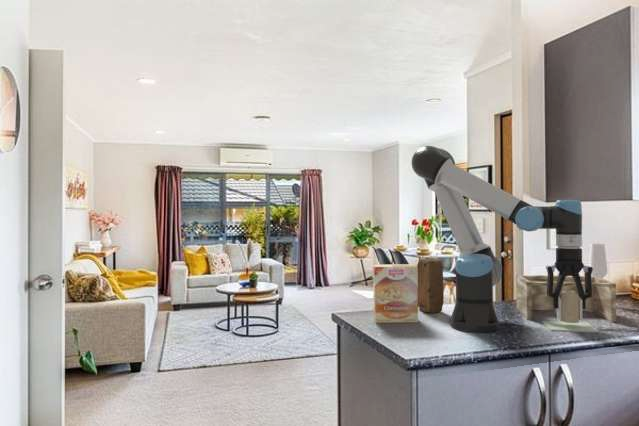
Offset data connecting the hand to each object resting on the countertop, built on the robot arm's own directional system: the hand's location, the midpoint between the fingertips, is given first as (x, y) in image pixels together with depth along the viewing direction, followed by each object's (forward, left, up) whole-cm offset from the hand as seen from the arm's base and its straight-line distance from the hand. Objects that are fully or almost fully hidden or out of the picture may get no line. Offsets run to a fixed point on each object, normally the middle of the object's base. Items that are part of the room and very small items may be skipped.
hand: (569, 318), depth 154 cm
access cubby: (+3, +18, -3) cm, 18 cm away
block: (-44, +18, -3) cm, 48 cm away
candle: (0, 0, -1) cm, 1 cm away
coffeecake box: (-56, +1, -3) cm, 56 cm away
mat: (0, 0, -3) cm, 3 cm away
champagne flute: (+22, +40, -3) cm, 46 cm away
